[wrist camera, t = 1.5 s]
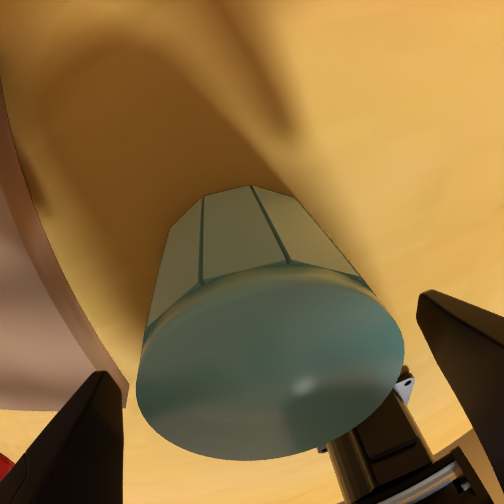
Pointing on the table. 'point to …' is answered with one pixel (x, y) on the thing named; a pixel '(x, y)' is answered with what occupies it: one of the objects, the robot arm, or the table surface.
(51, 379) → the post base
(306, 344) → the cap
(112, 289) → the table surface
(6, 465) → the plastic cup
